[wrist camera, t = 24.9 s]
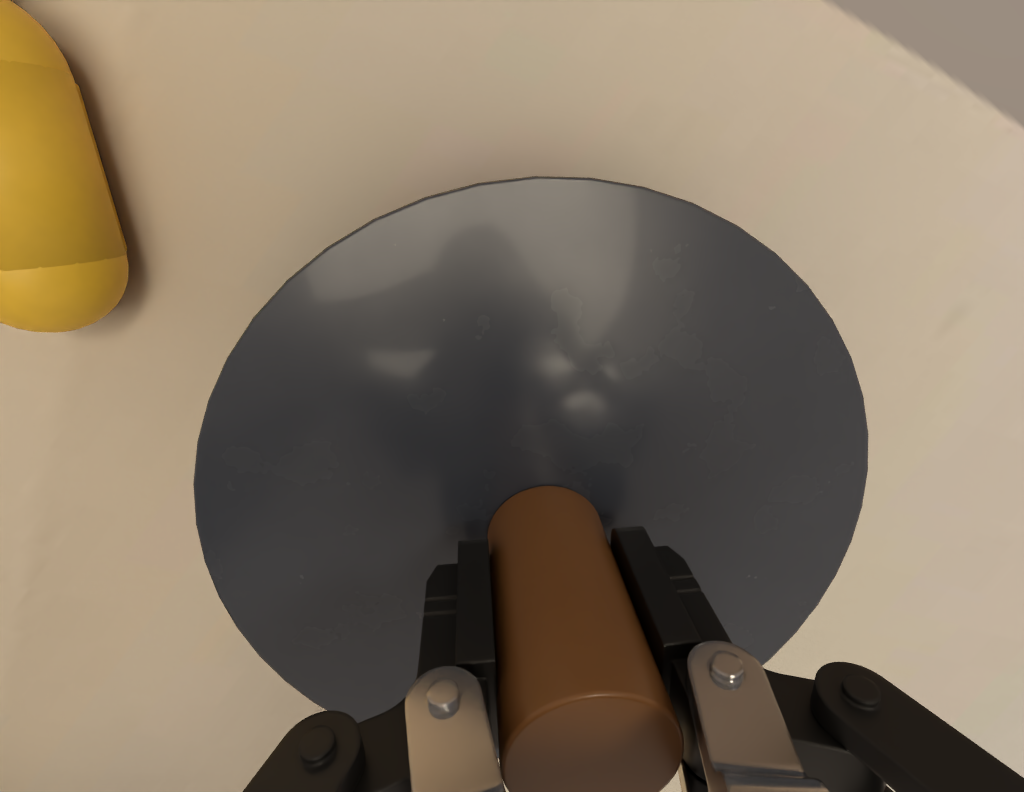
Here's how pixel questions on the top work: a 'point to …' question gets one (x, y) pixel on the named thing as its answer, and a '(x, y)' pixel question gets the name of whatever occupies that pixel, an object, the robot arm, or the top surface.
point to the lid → (530, 457)
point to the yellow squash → (51, 191)
